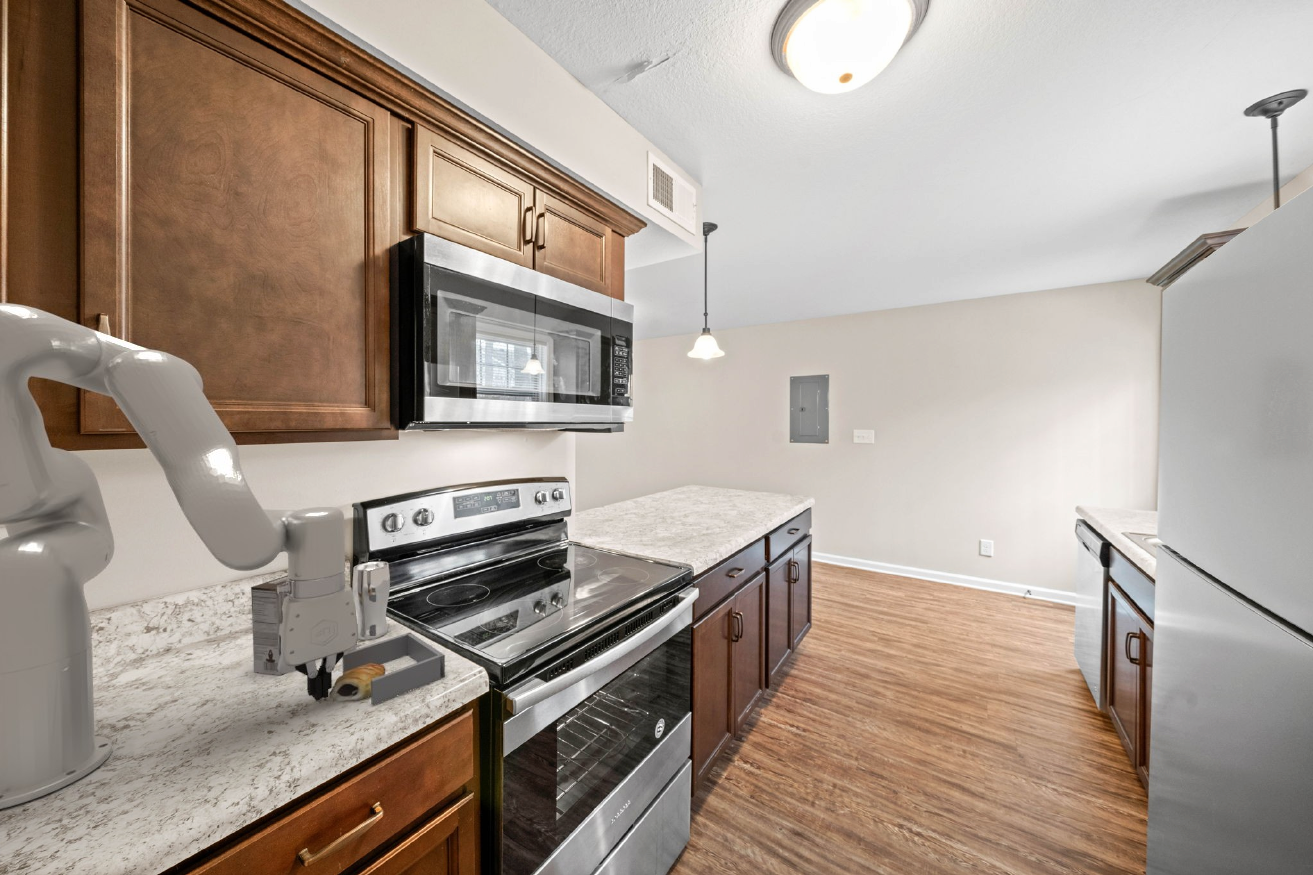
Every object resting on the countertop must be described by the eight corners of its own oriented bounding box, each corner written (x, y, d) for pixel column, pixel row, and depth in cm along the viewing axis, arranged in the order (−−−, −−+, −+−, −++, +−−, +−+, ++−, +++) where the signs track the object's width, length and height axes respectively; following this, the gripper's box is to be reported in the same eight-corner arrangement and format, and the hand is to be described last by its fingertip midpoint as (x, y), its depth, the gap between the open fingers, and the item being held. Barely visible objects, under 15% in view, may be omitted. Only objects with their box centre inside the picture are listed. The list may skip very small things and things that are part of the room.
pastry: (358, 674, 88) (358, 653, 88) (396, 673, 88) (396, 653, 88) (325, 704, 79) (325, 680, 79) (368, 703, 79) (368, 680, 79)
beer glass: (345, 637, 103) (344, 568, 102) (375, 625, 109) (375, 559, 109) (368, 643, 100) (367, 571, 100) (397, 630, 107) (396, 563, 106)
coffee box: (298, 650, 97) (296, 571, 97) (325, 653, 96) (323, 573, 96) (251, 673, 88) (250, 586, 88) (280, 676, 87) (278, 588, 86)
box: (373, 705, 78) (372, 681, 78) (342, 675, 87) (342, 653, 87) (444, 676, 87) (444, 654, 87) (410, 652, 96) (410, 632, 96)
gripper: (264, 603, 70) (267, 727, 70) (377, 578, 81) (378, 685, 82) (253, 591, 75) (256, 707, 75) (361, 569, 86) (362, 671, 87)
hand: (319, 696), depth 78 cm, fingers closed
